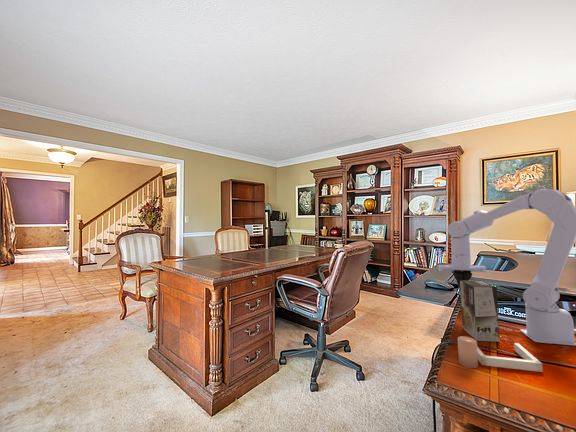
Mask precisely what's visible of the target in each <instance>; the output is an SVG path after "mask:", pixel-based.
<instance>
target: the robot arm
mask: <svg viewBox="0 0 576 432" xmlns="http://www.w3.org/2000/svg"><path fill="white" fill-rule="evenodd" d="M522 210H536V211H538V212H540V213H542V214H544V215H545V216H546V217H547V218H548V220H550V221H551V222H552V223H553V226H552V229H551V233H550V236H549V238H548V241H547V244H546V246H545V250H544V251H543V252H544V253H543V255H542V257H541V261H540V264H539V266H538V269H537V272H536V275H535V277H534V278H533V280H532V282H531V283H530V286H529V287H528V288H527V289H525V290H524V291H523V293H522V299H523V301H524V303H525V305H524V306H525V321H526V322H525V323H526V328H525V329H524V328H521V329H519V331H520V332H521V333H522V334H524V335H525V336H526V337H528V338H529V339H531V340H532V342H534V343H542V344H543V343H544V344H552V345H553V344H554V345H564V346H566V345H567V346H573V347H575V346H576V341H575V340H576V339H575V325H574V320H573V319H574V318H573V316H572V315H571V313H570V312H569V311H568V310H566V309H563V308H560V307H559V306H558V304H557V302H558V301H559V300H560V297H561V295H560V291H559V286H560V284H561V283H560V279H561V277H562V273H563V272H564V268H565V266H566V263H567V261H568V258H569V255H570V253H571V250H572V249H573V248H572V247H573V245H574V242H575V239H576V207H575V205H574V203H573V199H572V198H571V197H570V196H568V195H567V194H566V193H565V192H563V191H561V190H559V189H550V188H541V189H537V190H535V191H534V192H529V193H526V194H523V195H521V196H518V197H516V198H514V199H512V200H510V201H508V202H506V203H503V204H502V205H500V206H497V207H495V208H493V209H491V210H489V211H486V210H475V211H473V213H472V214H470V215H469V216H467V217H461V218H459V219H460V221H455V220H454V221H452V222H451V223H449V225H447V233H448V235H449V236H450V247H451V249H450V251H451V253H450V254H451V264H446V265H445V264H444V265H443V264H442V265H440V264H439V265H437V266H438V267H437V269H438V272H451V273H452V275H453V277H454V279H455V281H456V283H457V285H458V290H459V292H461V288H460V280H471V278H472V276H473V273H472V272H474V273H475V272H476V273H477V272H478V273H487V267H486V266H484V265H471V264H472V263H471V247H470V246H471V243H470V235H472V234H473V233H476V232H479V231H480V230H484V229H486V228H489V227H491V226H492V225H493V223H494V222H495V220H498V219H500V218H503V217H506V216H508V215H511V214H514V213H516V212H519V211H522Z"/></svg>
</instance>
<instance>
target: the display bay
mask: <svg viewBox="0 0 576 432" xmlns="http://www.w3.org/2000/svg"><path fill="white" fill-rule="evenodd" d="M513 348H514V349H513V350H514V352H515V353H517V355H519V357H521V358H515V357H514V358H512V357H504V356H503V357H502V356H495V355H485V354H484V352H483V351H482V350H481V349H480V348H479V347H478V346H477V355H478V362H479V363H480V364H481V365H482V366H487V367H496V368H504V369H512V370H513V369H514V370H522V371H529V372H530V371H531V372H539V373H543V363H542V362H541V361H540V360H539V359H537V357H535V356H534V355H533V354H532V353H531V352H529V351H528V350H527V349H526V348H525V347H524V346H522V345H521V344H520V343H519V342H514V343H513Z"/></svg>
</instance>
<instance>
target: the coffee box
mask: <svg viewBox="0 0 576 432" xmlns="http://www.w3.org/2000/svg"><path fill="white" fill-rule="evenodd" d="M460 288H461V291H460V302H461V303H460V304H461V318H462V321H461V322H462V329H463V330H464V331H465V332H466V333H468V334H469V335H470V337H471V338H473V339H475V340H476V341H477V342H479V341H480V342H495V343H496V342H497V343H500V327H499V308H498V306H499V303H498V287H497V286H496V285H494V284H491V283H490V282H489V283H488V282H487V281H484V280H481V279H470V280H460Z"/></svg>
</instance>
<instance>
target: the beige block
mask: <svg viewBox="0 0 576 432" xmlns="http://www.w3.org/2000/svg"><path fill="white" fill-rule="evenodd" d="M477 347H478V341H477V340H475V339H474V338H473V337H471V336H466V335H464V336H463V335H462V336H460V335H459V336H458V337H457V352H458V354H457V355H458V364H460V365H461V366H463V367H465V368H469V369H477V368H478V367H479V360H478V355H477Z"/></svg>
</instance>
